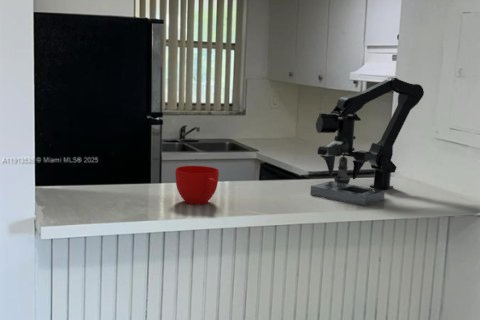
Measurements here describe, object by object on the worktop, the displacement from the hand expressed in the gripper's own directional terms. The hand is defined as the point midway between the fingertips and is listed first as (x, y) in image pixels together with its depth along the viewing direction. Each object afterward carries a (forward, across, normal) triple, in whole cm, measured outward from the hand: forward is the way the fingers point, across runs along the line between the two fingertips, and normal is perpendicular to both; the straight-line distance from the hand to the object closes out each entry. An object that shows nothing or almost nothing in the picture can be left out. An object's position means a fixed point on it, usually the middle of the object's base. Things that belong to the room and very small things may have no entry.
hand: (342, 177), depth 211 cm
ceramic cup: (+4, -16, -56) cm, 58 cm away
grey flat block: (+4, +9, -12) cm, 16 cm away
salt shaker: (+4, 0, 0) cm, 4 cm away
